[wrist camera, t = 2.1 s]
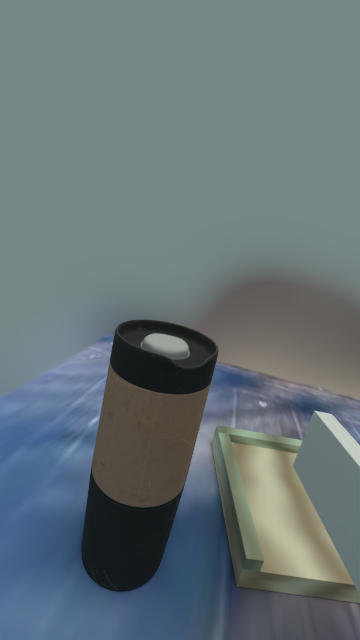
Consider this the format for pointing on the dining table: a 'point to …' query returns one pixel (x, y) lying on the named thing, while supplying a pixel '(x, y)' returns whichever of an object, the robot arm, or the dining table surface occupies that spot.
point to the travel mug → (143, 447)
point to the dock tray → (274, 519)
